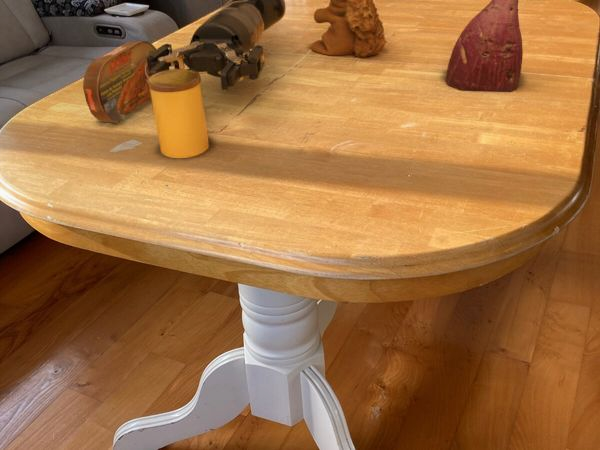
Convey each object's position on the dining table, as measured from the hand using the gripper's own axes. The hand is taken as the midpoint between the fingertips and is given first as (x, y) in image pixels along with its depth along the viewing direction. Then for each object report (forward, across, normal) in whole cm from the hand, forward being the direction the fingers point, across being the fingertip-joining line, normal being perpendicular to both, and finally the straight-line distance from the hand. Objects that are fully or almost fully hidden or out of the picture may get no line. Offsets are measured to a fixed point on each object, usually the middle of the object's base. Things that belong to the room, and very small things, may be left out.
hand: (189, 81), depth 69 cm
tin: (-7, -12, +7) cm, 15 cm away
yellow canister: (+4, 0, +7) cm, 8 cm away
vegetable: (-22, +36, +7) cm, 43 cm away
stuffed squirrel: (-35, +16, +7) cm, 39 cm away
